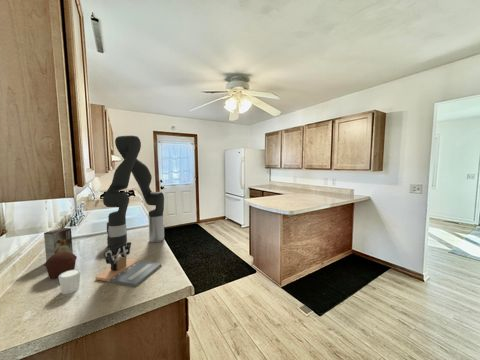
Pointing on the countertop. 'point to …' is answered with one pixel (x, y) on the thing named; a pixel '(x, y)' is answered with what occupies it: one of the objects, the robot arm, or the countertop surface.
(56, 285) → the countertop surface
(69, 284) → the shot glass
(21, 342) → the countertop surface
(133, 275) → the board
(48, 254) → the coffee box
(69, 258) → the muffin
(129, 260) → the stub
